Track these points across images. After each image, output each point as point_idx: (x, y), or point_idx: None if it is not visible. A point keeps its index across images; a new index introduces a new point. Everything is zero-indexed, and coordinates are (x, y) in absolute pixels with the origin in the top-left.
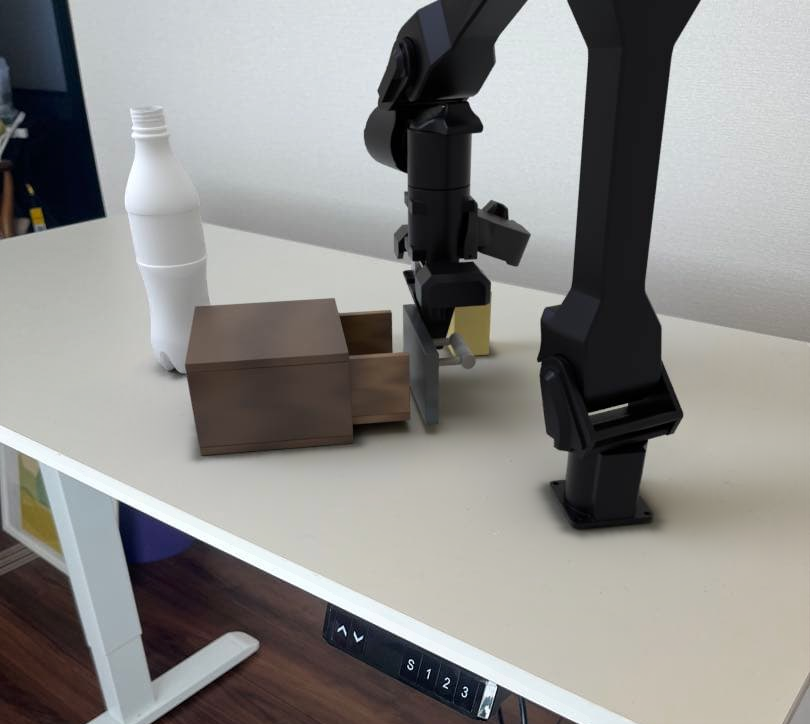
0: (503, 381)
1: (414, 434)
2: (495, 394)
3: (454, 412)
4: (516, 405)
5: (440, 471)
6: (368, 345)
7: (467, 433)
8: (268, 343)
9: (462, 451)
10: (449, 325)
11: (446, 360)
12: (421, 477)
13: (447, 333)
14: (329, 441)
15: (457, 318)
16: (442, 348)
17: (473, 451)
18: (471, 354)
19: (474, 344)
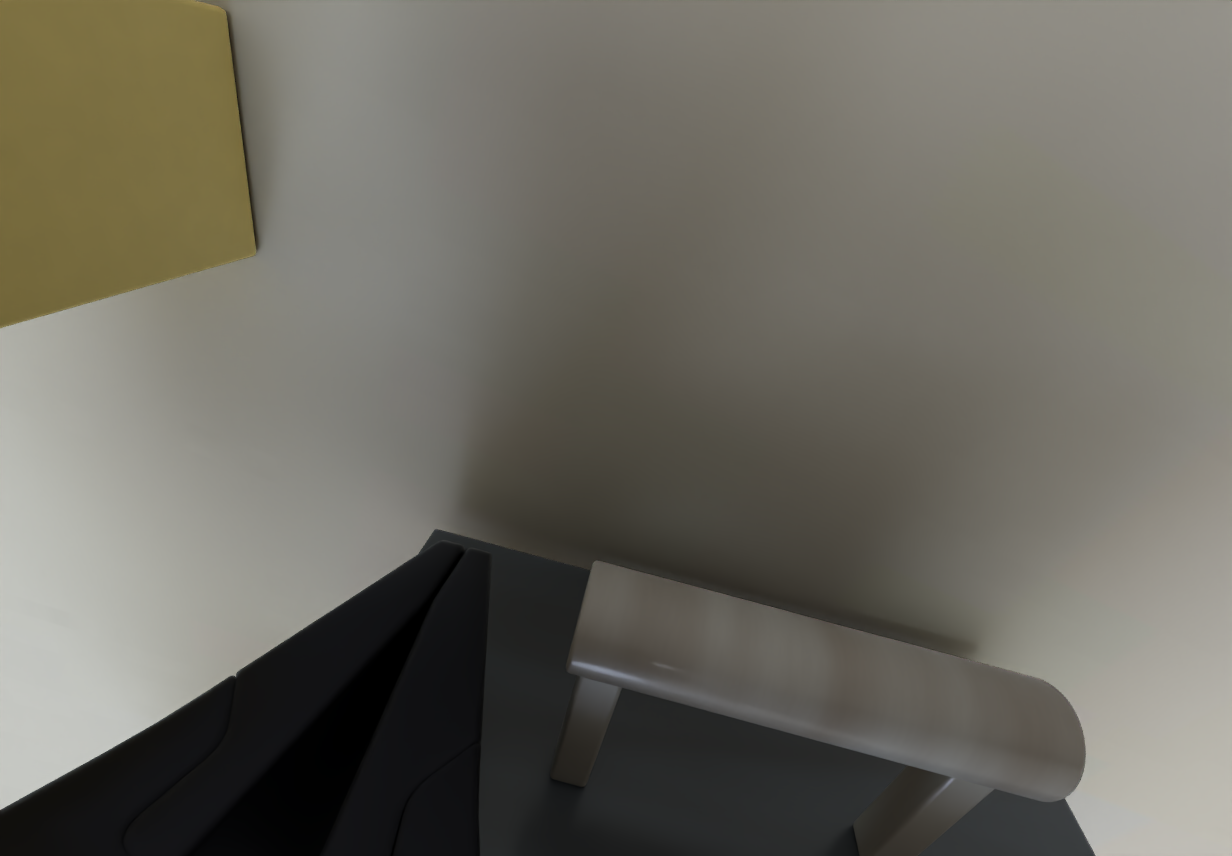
0: (659, 132)
1: None
2: (800, 274)
3: (860, 528)
4: (1005, 233)
5: (1227, 743)
6: None
7: (1070, 572)
8: None
9: (1179, 646)
10: (483, 699)
11: (945, 830)
12: (1201, 786)
13: (482, 631)
14: None
15: (6, 301)
16: (490, 554)
17: (1220, 620)
18: (1063, 773)
19: (182, 127)
